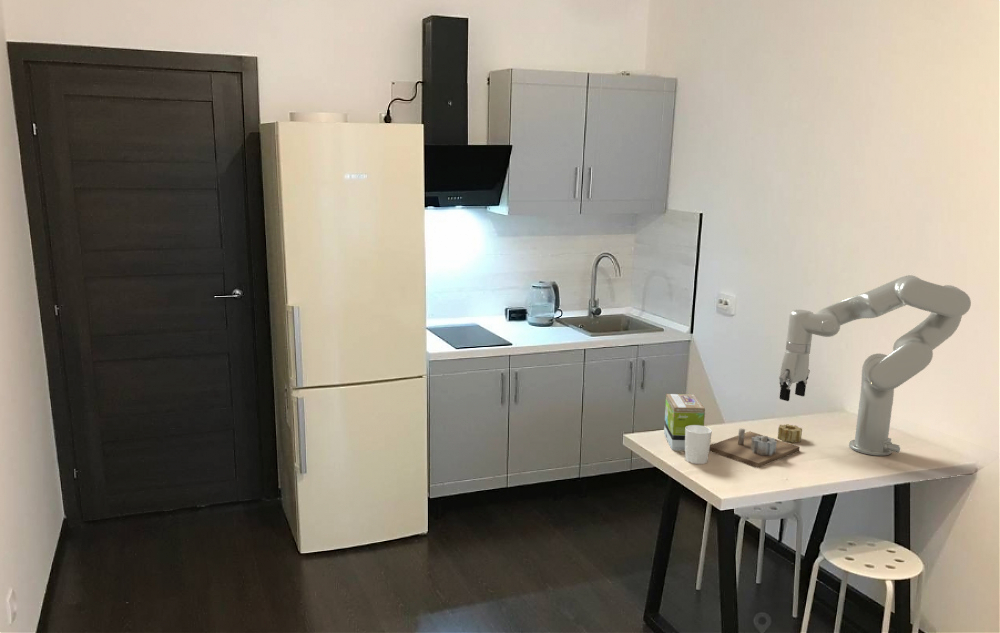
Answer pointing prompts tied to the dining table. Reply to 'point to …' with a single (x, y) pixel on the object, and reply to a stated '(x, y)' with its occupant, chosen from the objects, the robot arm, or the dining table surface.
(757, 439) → the grey gear
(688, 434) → the white cup
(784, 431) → the brass gear
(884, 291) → the robot arm
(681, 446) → the tea box
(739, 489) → the dining table surface
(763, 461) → the gear board
